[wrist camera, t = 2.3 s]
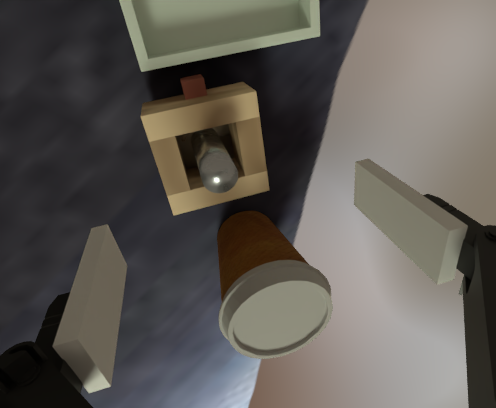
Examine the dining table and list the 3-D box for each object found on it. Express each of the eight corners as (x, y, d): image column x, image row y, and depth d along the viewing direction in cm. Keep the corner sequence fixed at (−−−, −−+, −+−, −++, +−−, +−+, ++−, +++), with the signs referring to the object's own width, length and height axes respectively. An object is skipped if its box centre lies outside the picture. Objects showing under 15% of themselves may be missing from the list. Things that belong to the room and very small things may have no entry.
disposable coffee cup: (300, 208, 35) (359, 284, 25) (265, 274, 39) (304, 364, 29) (220, 186, 31) (251, 265, 21) (190, 261, 35) (203, 360, 25)
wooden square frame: (171, 192, 29) (173, 215, 25) (137, 87, 24) (134, 98, 20) (256, 170, 30) (269, 190, 26) (240, 65, 25) (253, 72, 22)
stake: (174, 179, 30) (181, 233, 22) (151, 103, 26) (149, 138, 19) (246, 161, 31) (276, 207, 23) (234, 86, 27) (264, 112, 19)
